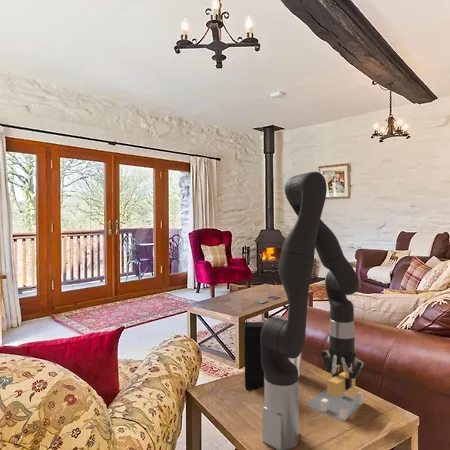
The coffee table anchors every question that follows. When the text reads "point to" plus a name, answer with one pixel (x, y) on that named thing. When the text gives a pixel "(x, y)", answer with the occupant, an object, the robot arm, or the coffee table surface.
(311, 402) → the board
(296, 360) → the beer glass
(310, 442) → the coffee table surface
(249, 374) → the portable radio
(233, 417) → the coffee table surface
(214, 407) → the coffee table surface
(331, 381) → the bar
